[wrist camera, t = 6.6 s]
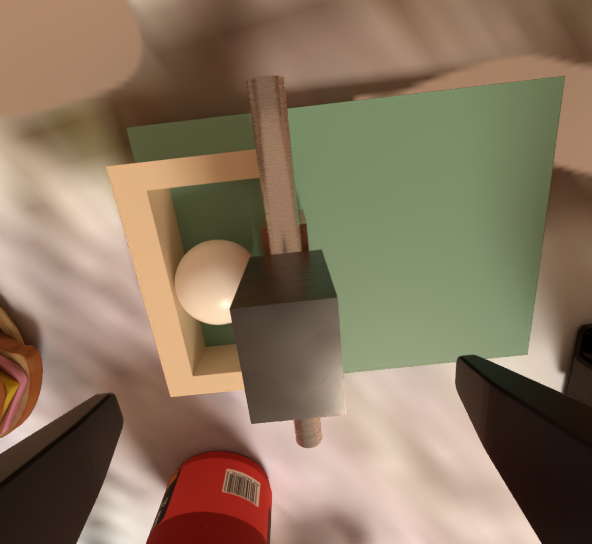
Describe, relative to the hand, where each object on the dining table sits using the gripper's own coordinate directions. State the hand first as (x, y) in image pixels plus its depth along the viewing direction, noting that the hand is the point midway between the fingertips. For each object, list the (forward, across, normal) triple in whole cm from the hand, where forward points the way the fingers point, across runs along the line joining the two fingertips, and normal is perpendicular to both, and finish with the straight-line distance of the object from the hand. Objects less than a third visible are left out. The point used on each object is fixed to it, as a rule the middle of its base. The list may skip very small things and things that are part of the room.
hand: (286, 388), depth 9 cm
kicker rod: (+11, 0, 0) cm, 11 cm away
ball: (+9, +4, 0) cm, 10 cm away
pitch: (+12, -4, 0) cm, 13 cm away
